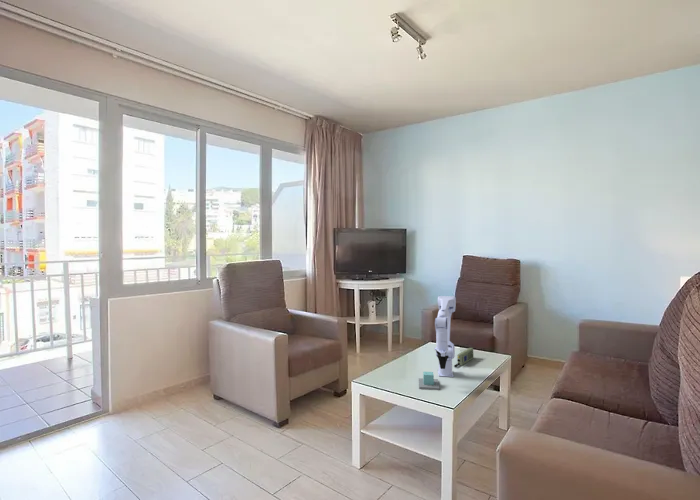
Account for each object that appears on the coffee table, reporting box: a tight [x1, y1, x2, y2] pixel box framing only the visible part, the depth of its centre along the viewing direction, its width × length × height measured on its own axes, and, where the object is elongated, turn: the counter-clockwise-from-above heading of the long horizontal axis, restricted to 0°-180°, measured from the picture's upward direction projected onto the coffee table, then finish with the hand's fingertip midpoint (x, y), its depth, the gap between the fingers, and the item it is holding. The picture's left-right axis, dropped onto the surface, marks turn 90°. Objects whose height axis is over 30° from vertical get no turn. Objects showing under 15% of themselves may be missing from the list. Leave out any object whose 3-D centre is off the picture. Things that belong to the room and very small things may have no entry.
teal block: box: [422, 371, 435, 385], centre depth 194 cm, size 5×5×5 cm
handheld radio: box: [453, 347, 475, 368], centre depth 229 cm, size 7×3×25 cm
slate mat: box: [418, 378, 440, 391], centre depth 194 cm, size 12×10×1 cm
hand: (442, 366), depth 194 cm, fingers open, 7 cm apart
